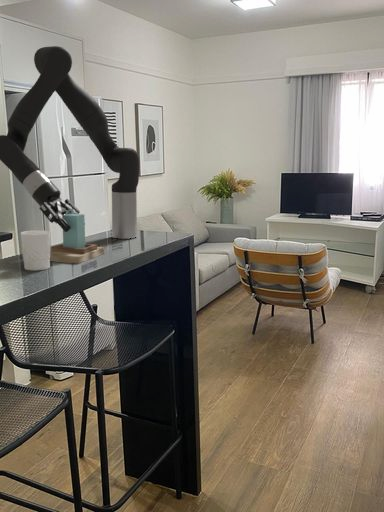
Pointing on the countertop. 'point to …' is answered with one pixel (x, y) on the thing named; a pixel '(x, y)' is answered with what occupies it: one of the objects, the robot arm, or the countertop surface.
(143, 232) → the countertop surface
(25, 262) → the white cup
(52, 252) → the tan flat rimmed tray
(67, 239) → the pale teal block
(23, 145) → the robot arm
